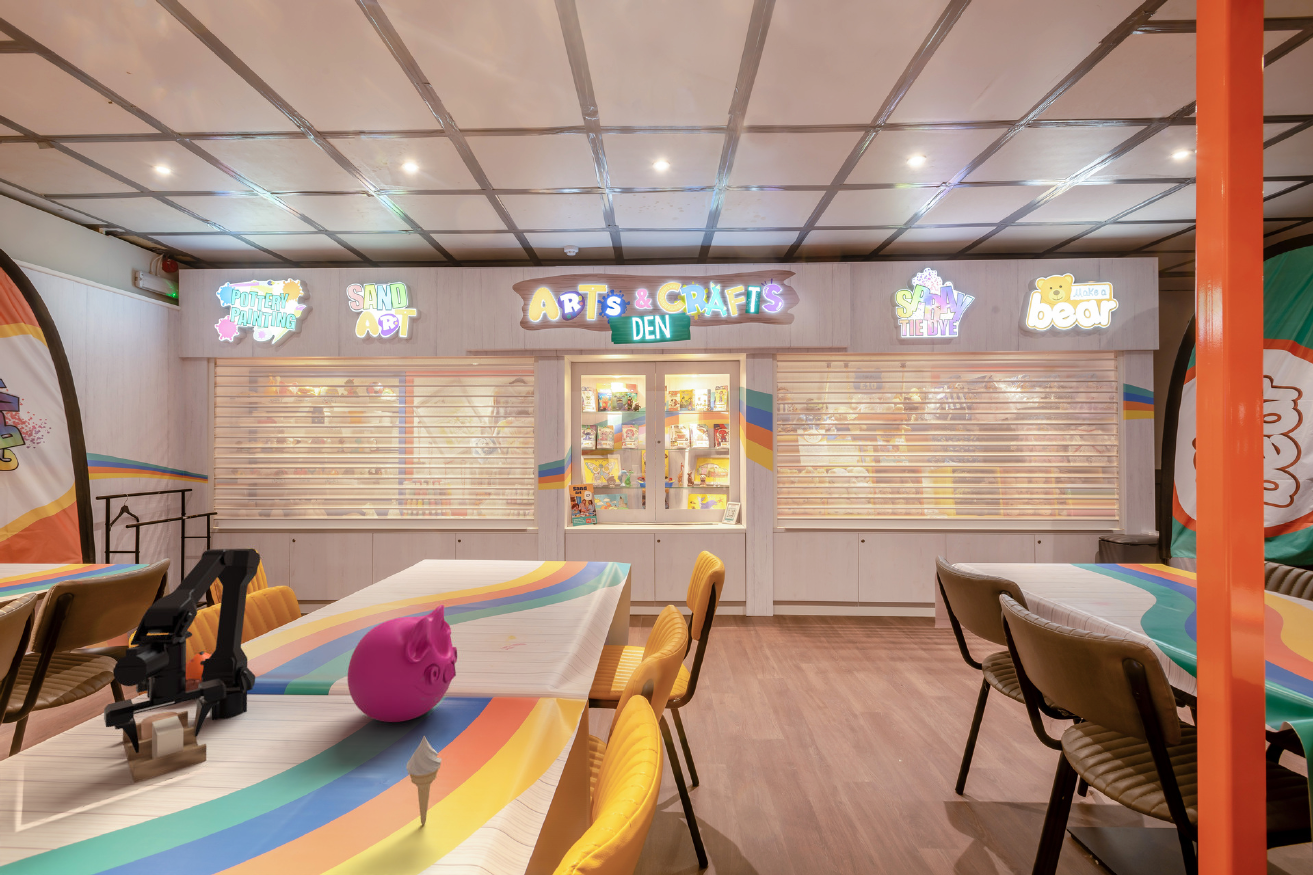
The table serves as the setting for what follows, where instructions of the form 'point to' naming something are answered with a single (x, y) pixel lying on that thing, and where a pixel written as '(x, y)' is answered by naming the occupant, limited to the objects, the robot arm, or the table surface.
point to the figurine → (403, 667)
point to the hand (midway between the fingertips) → (167, 743)
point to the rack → (149, 767)
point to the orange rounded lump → (195, 670)
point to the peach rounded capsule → (147, 723)
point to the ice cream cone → (423, 773)
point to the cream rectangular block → (166, 737)
